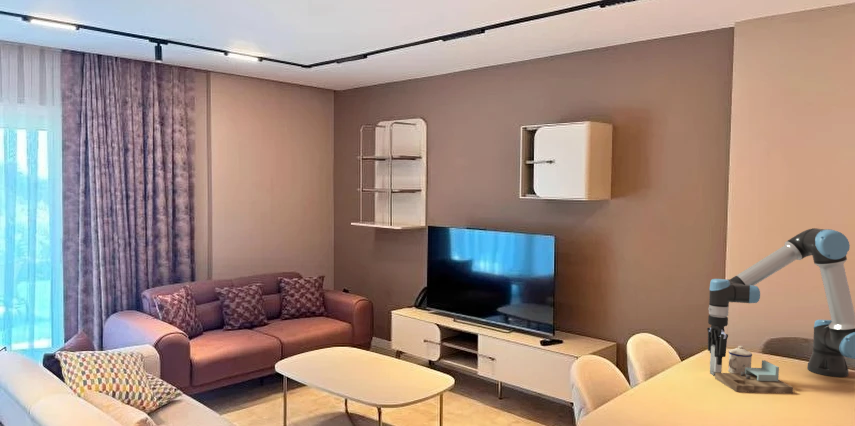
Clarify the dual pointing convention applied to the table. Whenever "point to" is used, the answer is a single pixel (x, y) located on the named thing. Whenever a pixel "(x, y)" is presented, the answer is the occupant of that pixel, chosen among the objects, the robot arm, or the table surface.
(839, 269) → the robot arm
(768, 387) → the base
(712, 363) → the pin
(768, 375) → the cover
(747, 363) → the teacup with lid
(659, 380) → the table surface
